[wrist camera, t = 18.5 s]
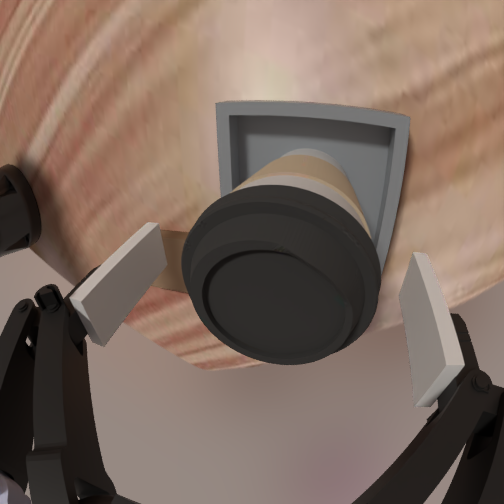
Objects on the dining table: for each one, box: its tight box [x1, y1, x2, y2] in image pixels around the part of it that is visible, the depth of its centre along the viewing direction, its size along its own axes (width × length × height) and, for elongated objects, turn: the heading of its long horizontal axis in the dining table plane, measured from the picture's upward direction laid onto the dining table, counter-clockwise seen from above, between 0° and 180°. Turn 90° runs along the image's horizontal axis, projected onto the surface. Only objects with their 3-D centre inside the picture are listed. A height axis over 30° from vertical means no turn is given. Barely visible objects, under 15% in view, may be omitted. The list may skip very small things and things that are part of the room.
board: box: [151, 230, 189, 293], centre depth 31 cm, size 8×7×2 cm
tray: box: [216, 100, 410, 275], centre depth 22 cm, size 14×14×2 cm
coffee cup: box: [181, 148, 381, 365], centre depth 17 cm, size 9×9×15 cm
